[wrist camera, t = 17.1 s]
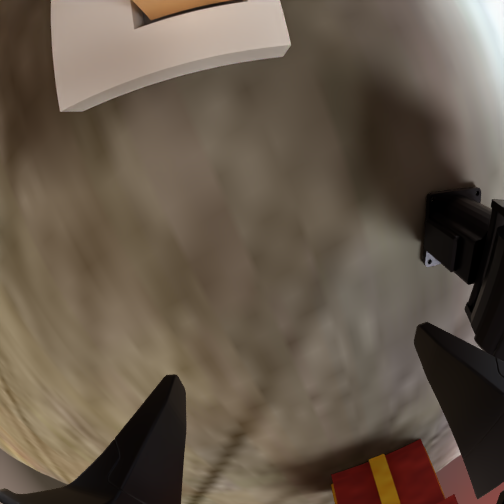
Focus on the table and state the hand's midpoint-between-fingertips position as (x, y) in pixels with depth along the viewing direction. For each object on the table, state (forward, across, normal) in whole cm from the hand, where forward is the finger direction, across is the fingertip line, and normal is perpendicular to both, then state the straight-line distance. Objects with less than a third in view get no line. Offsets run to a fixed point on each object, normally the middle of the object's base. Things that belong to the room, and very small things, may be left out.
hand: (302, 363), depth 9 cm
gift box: (+12, -16, +58) cm, 61 cm away
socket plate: (+12, +4, -21) cm, 25 cm away
